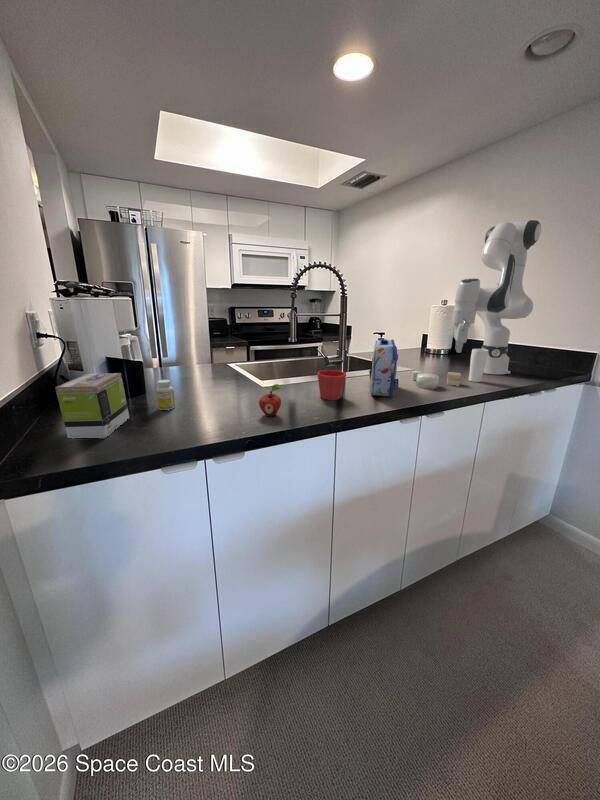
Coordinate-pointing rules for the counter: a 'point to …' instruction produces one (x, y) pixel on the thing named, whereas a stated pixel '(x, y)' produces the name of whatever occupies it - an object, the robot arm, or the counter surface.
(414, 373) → the sage block
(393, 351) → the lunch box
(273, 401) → the apple
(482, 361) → the white tall block
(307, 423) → the counter surface
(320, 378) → the flower pot
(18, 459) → the counter surface
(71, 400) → the tea box
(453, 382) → the maple cube
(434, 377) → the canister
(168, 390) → the supplement bottle
